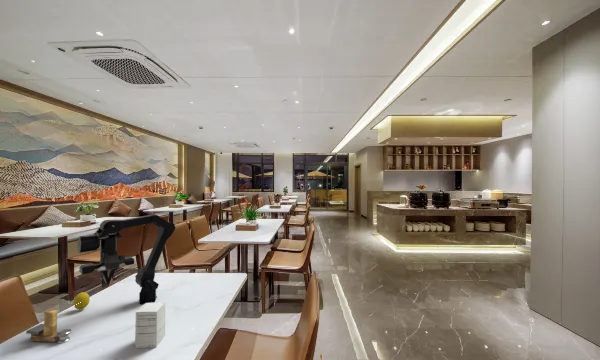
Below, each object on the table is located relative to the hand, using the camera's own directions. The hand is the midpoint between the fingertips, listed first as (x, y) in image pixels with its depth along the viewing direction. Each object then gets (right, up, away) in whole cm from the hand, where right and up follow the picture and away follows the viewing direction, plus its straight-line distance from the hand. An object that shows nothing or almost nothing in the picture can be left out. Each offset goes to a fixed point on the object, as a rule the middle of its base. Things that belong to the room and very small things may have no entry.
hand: (107, 284), depth 112 cm
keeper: (-12, -13, -18) cm, 25 cm away
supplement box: (+31, -13, -20) cm, 39 cm away
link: (-7, -12, -19) cm, 24 cm away
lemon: (-14, -13, +3) cm, 20 cm away
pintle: (-1, -13, -20) cm, 23 cm away
